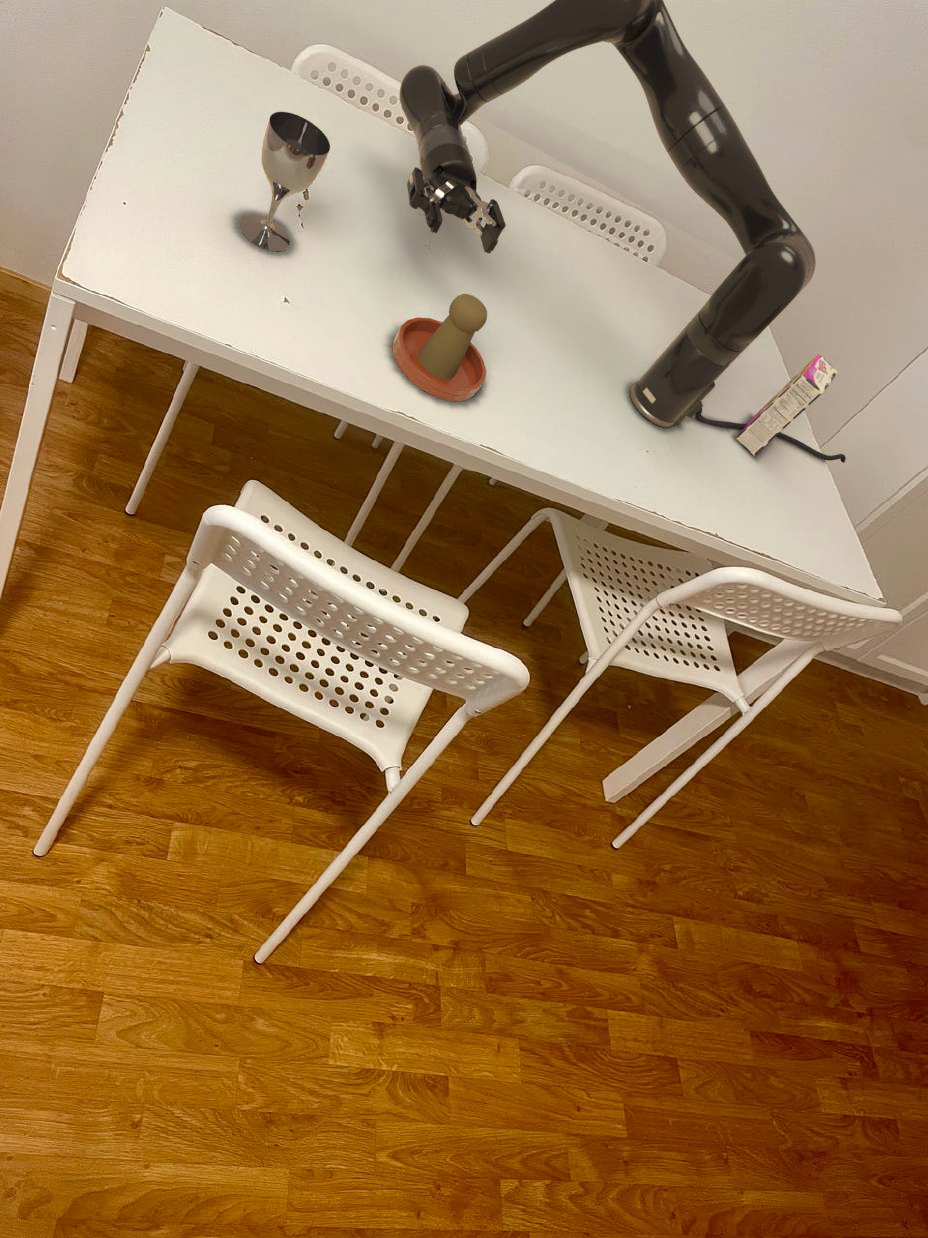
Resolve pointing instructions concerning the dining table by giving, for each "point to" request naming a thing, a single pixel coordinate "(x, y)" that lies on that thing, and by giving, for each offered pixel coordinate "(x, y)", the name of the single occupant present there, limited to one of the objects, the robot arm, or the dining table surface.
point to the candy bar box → (787, 404)
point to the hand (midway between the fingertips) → (464, 237)
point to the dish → (407, 359)
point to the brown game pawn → (453, 337)
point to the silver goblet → (285, 172)
